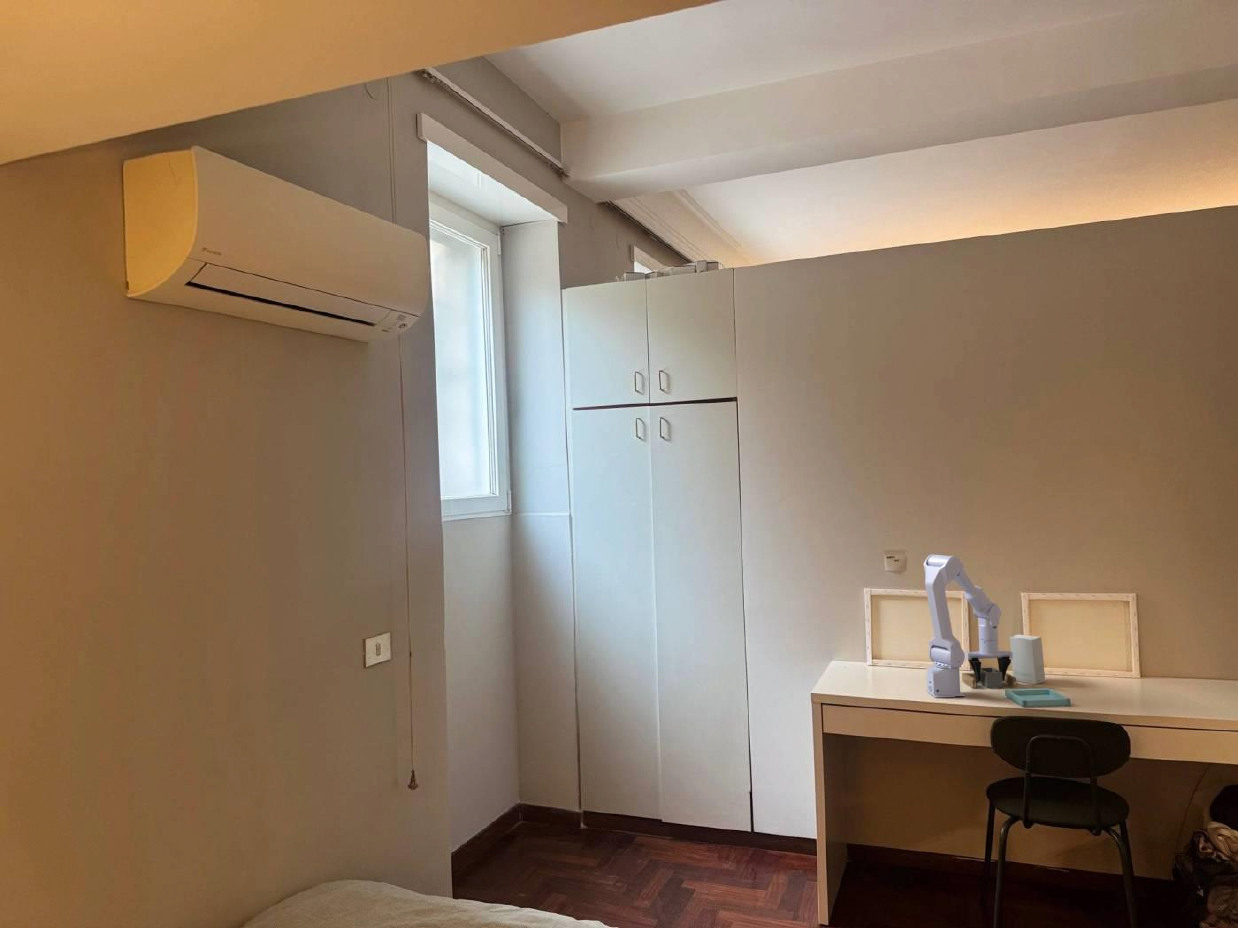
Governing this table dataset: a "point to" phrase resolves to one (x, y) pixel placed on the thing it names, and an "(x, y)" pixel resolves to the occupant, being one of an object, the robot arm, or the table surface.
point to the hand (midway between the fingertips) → (990, 680)
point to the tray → (1037, 697)
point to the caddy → (991, 678)
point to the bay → (971, 681)
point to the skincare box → (1027, 659)
